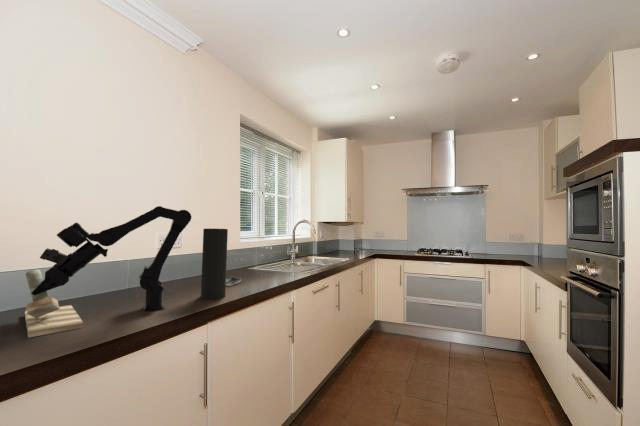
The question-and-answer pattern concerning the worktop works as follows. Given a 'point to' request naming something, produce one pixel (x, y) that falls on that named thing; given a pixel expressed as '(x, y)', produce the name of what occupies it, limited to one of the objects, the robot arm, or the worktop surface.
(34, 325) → the birch board
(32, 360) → the worktop surface
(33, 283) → the column on wooden base
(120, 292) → the worktop surface
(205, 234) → the vase
